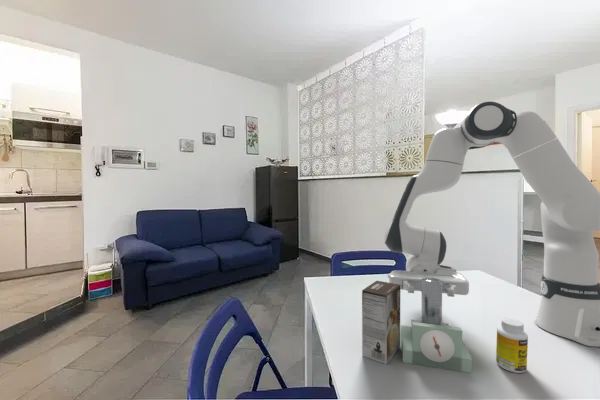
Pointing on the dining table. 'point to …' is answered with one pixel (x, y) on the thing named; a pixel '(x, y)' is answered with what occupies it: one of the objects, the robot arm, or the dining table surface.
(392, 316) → the coffee box
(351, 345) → the dining table surface
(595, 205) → the robot arm
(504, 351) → the supplement bottle
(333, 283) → the dining table surface
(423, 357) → the scale
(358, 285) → the dining table surface
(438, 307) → the cylinder
